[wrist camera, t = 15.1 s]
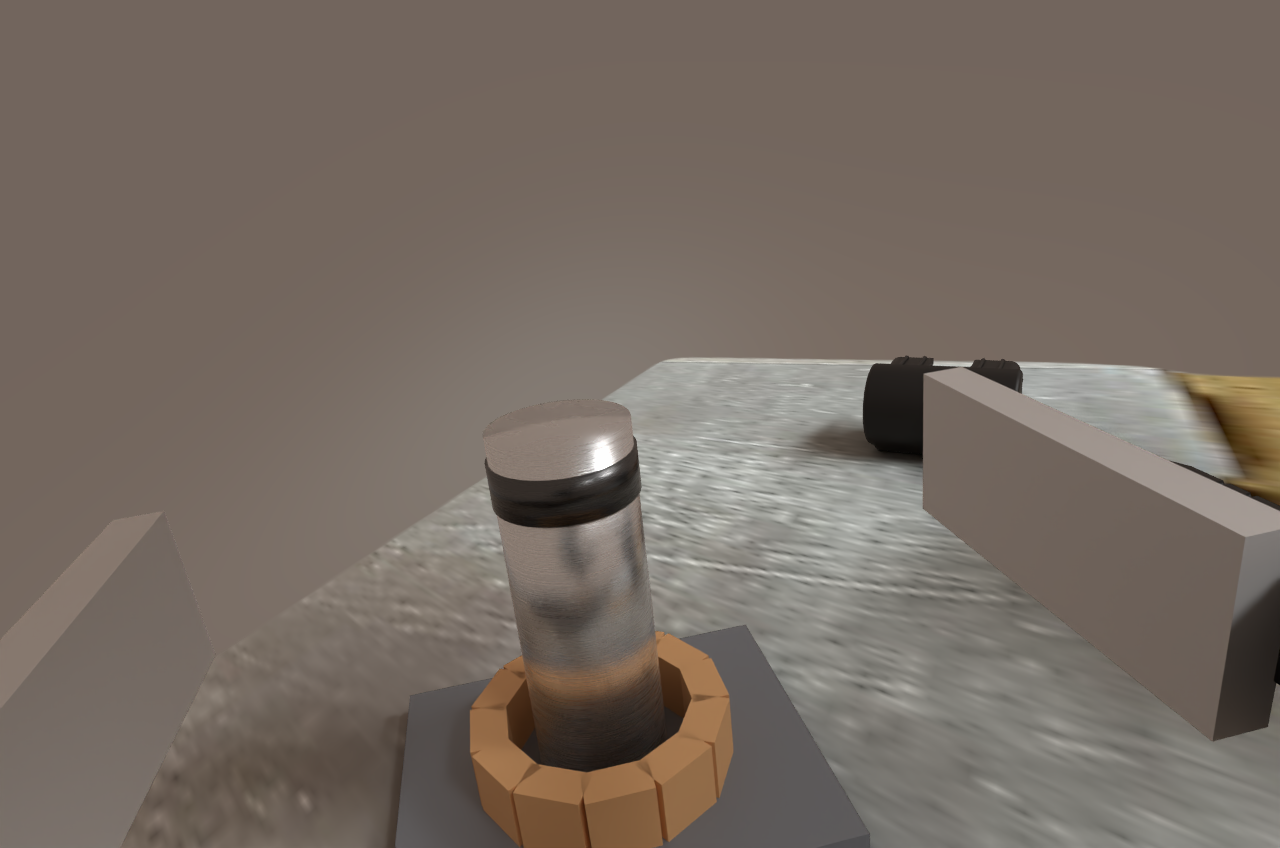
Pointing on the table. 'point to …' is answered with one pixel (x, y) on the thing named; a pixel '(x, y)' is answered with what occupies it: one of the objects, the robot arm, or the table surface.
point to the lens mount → (628, 766)
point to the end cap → (914, 399)
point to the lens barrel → (579, 579)
